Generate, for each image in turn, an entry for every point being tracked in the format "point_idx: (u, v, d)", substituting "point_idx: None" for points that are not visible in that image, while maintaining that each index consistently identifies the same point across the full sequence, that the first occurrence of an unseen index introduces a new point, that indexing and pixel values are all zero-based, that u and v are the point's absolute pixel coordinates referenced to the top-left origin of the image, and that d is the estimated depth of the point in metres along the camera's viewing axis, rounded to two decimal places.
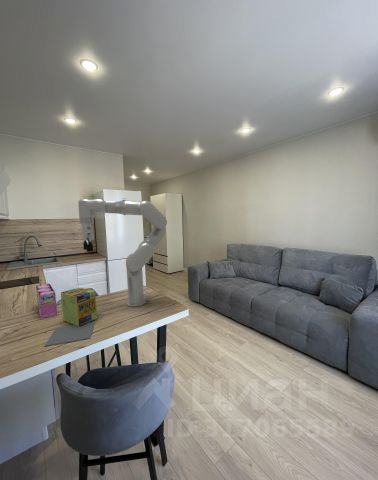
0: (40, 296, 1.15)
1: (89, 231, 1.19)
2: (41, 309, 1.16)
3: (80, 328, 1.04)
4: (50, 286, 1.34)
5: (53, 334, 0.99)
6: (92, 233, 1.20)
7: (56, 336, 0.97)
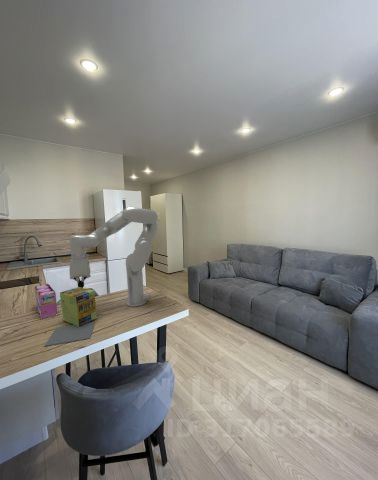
0: (40, 296, 1.15)
1: (89, 265, 1.22)
2: (41, 309, 1.16)
3: (80, 328, 1.04)
4: (49, 286, 1.33)
5: (53, 334, 0.99)
6: (89, 267, 1.23)
7: (56, 336, 0.97)
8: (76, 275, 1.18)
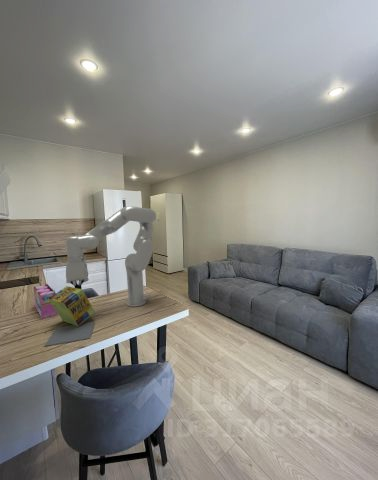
0: (40, 296, 1.15)
1: (86, 268, 1.15)
2: (42, 309, 1.16)
3: (80, 328, 1.04)
4: (48, 286, 1.33)
5: (53, 334, 0.99)
6: (87, 270, 1.16)
7: (56, 336, 0.97)
8: (73, 279, 1.11)
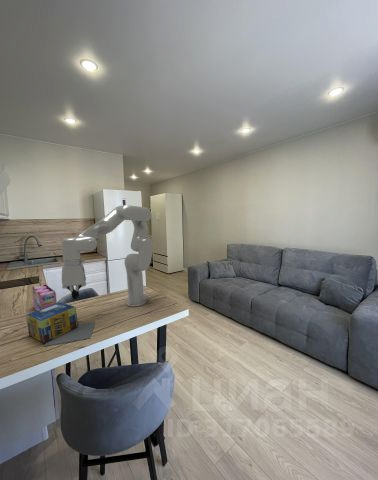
0: (41, 296, 1.15)
1: (84, 272, 1.07)
2: None
3: (80, 328, 1.04)
4: (47, 287, 1.33)
5: None
6: None
7: None
8: (69, 284, 1.03)
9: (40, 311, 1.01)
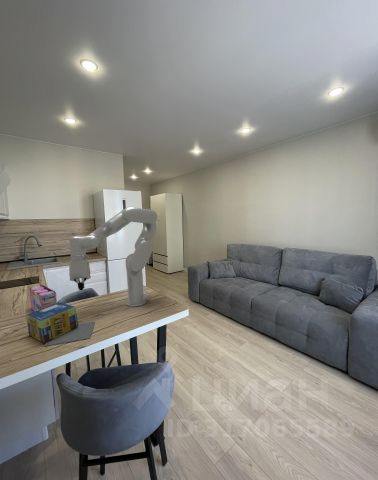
0: (41, 296, 1.15)
1: (89, 267, 1.21)
2: None
3: (80, 328, 1.04)
4: (44, 287, 1.32)
5: None
6: (89, 268, 1.22)
7: None
8: (76, 276, 1.17)
9: (40, 311, 1.01)
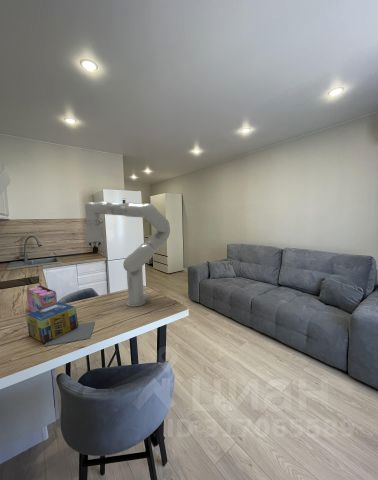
0: (42, 296, 1.14)
1: None
2: None
3: (80, 328, 1.04)
4: (42, 288, 1.31)
5: None
6: (103, 234, 1.30)
7: None
8: (91, 240, 1.25)
9: (40, 311, 1.01)
